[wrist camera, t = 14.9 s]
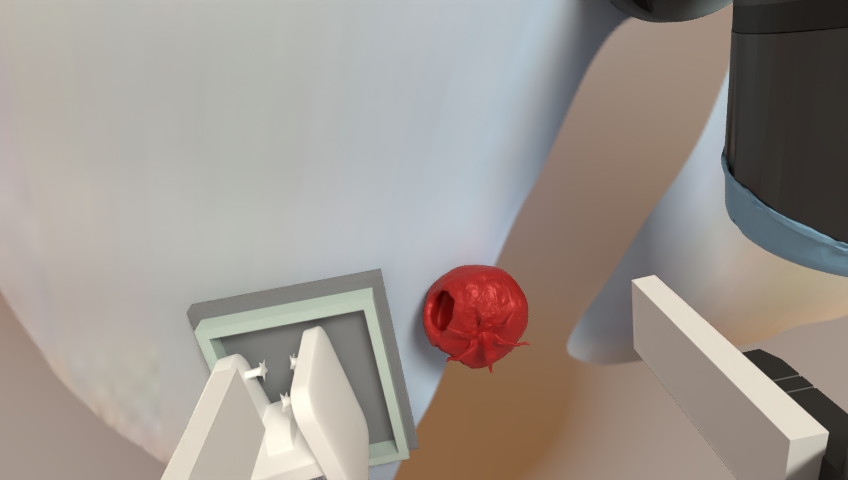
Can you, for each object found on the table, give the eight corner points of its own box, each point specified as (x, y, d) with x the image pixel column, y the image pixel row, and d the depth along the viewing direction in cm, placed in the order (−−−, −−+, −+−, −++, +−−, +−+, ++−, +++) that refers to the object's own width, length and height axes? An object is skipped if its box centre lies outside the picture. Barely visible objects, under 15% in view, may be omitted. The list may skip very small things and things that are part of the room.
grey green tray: (380, 268, 46) (381, 286, 43) (417, 438, 55) (420, 463, 51) (191, 304, 45) (178, 324, 42) (260, 470, 54) (253, 497, 51)
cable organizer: (373, 426, 51) (375, 528, 41) (280, 455, 52) (257, 565, 41) (322, 313, 45) (308, 398, 35) (216, 347, 46) (170, 442, 35)
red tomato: (509, 242, 47) (544, 286, 38) (520, 327, 50) (553, 385, 42) (410, 264, 46) (422, 314, 38) (428, 349, 50) (442, 412, 41)
